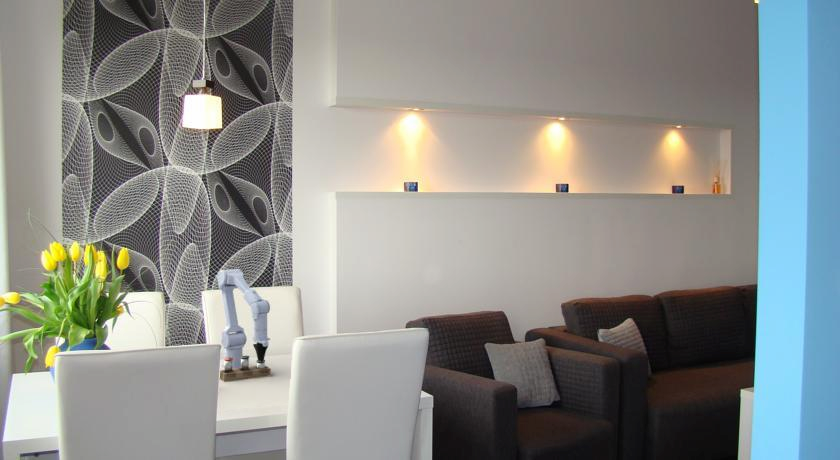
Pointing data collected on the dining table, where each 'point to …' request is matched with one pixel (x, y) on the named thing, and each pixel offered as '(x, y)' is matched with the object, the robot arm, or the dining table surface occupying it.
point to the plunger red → (228, 364)
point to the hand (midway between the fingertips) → (260, 360)
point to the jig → (244, 373)
